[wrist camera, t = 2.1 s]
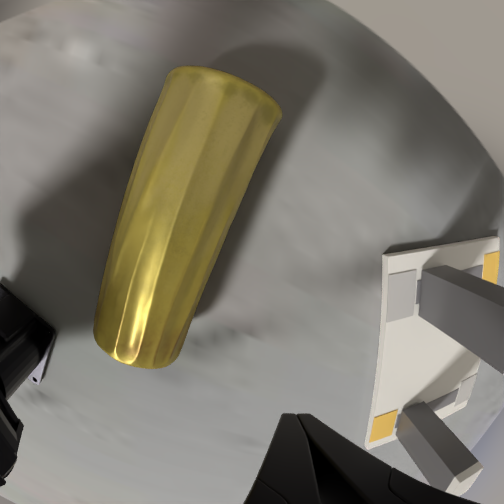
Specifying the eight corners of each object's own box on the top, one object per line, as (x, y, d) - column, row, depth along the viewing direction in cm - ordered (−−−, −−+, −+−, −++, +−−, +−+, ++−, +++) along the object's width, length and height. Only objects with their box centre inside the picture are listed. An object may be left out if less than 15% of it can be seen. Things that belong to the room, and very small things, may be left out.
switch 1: (418, 315, 19) (511, 381, 9) (421, 270, 18) (530, 320, 9) (442, 308, 19) (533, 364, 10) (445, 264, 19) (549, 307, 9)
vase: (164, 49, 10) (70, 350, 12) (301, 103, 11) (185, 388, 14) (175, 88, 15) (102, 301, 18) (268, 124, 17) (187, 330, 19)
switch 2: (395, 434, 22) (444, 505, 12) (401, 410, 21) (460, 483, 11) (416, 426, 22) (467, 490, 12) (423, 401, 21) (483, 467, 12)
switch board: (364, 444, 23) (367, 450, 22) (382, 254, 19) (389, 257, 18) (461, 402, 24) (466, 406, 23) (493, 235, 20) (500, 237, 19)
